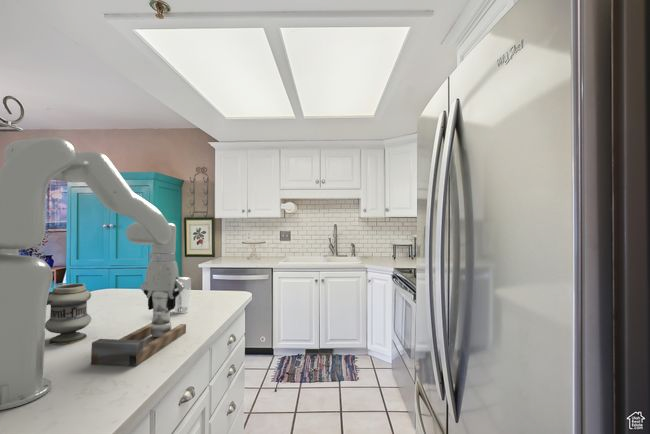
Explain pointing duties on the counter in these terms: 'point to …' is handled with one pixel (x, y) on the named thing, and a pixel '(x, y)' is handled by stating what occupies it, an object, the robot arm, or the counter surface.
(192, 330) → the counter surface
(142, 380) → the counter surface
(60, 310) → the apothecary jar
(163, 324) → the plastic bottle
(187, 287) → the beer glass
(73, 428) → the counter surface
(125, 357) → the guide track
